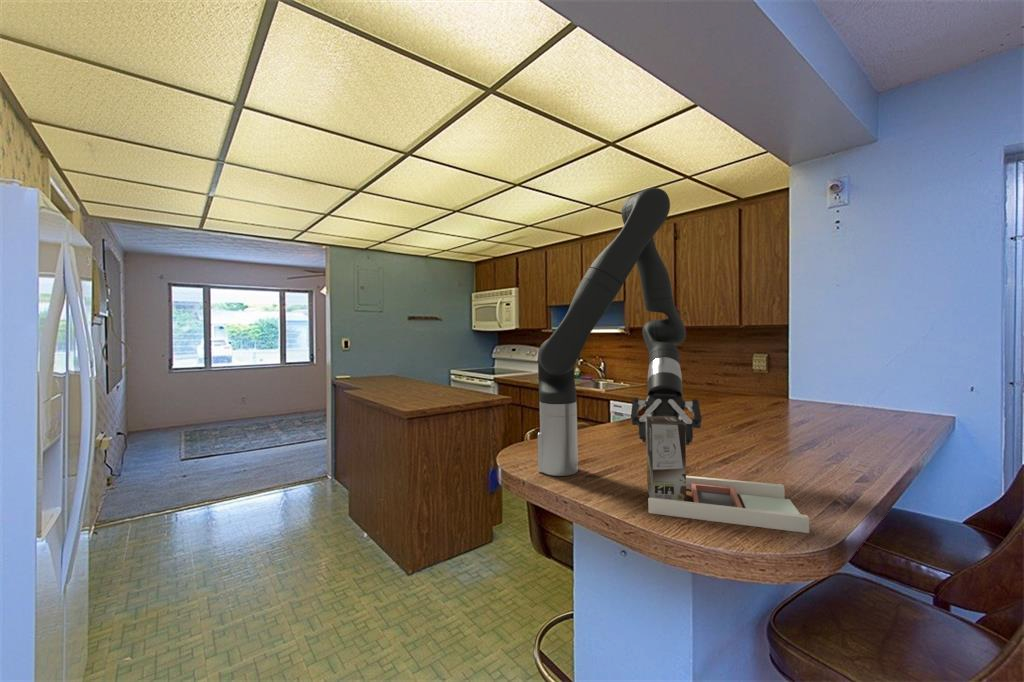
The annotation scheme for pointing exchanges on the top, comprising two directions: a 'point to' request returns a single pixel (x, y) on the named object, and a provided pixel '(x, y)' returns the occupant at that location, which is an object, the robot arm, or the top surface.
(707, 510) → the walled lane
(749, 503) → the pad
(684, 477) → the coffee box
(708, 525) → the top surface
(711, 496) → the frame
